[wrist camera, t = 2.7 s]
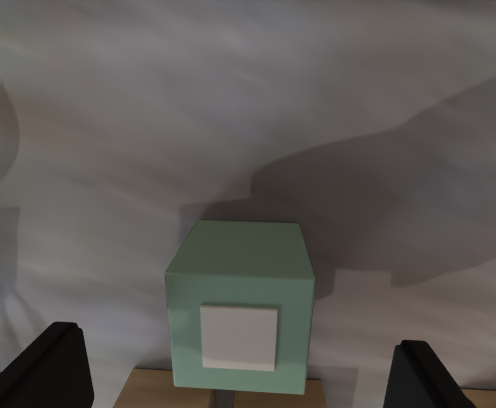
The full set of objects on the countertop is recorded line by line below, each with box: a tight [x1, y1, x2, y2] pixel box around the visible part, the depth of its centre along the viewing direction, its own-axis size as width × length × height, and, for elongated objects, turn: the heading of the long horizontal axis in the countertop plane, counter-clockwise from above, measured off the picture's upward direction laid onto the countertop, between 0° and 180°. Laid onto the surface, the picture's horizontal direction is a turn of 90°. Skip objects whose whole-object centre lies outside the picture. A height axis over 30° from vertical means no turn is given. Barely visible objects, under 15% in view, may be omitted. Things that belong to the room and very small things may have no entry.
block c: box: [165, 220, 316, 395], centre depth 12 cm, size 5×5×5 cm
